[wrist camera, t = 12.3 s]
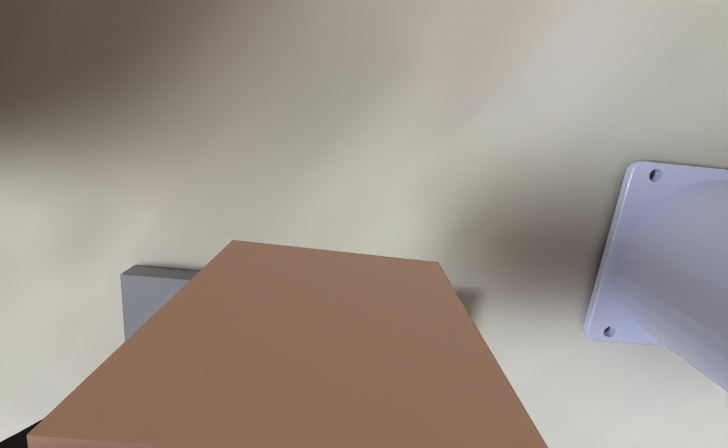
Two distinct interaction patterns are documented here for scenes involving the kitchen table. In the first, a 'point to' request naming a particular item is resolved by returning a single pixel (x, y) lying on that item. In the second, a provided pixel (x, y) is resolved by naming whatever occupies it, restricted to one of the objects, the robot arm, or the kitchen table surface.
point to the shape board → (148, 292)
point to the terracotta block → (299, 363)
